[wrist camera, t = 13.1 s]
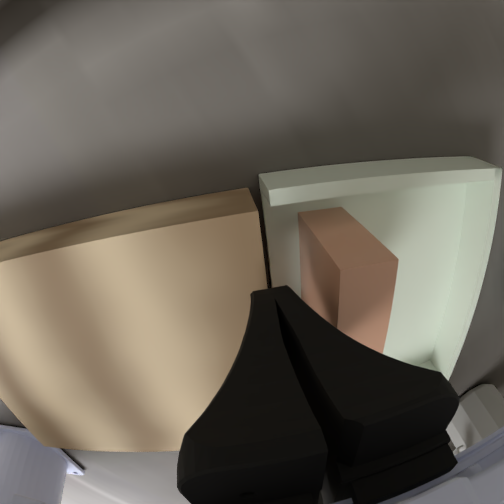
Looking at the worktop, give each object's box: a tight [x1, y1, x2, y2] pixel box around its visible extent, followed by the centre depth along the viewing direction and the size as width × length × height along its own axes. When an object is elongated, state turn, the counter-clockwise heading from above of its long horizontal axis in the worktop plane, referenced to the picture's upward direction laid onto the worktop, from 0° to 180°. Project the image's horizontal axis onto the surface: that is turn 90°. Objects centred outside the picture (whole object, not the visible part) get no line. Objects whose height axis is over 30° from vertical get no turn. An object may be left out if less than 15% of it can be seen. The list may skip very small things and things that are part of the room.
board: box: [0, 188, 268, 452], centre depth 15 cm, size 17×14×3 cm
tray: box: [258, 156, 502, 381], centre depth 16 cm, size 12×15×2 cm
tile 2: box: [298, 207, 399, 354], centre depth 13 cm, size 5×5×2 cm
